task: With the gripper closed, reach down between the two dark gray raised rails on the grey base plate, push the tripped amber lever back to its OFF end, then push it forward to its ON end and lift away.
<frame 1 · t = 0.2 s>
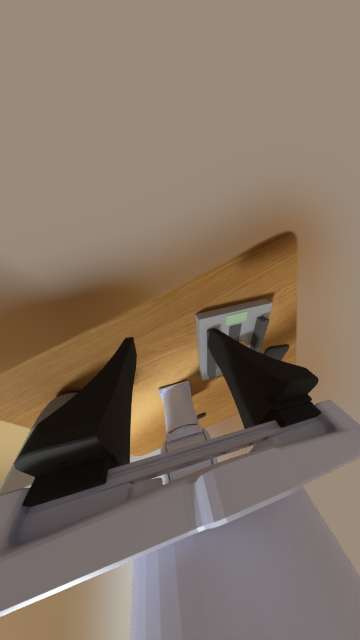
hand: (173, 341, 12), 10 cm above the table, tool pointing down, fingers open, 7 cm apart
grey base plate: (227, 341, 29), on the table
phone: (265, 363, 38), on the table
smart speaker: (77, 399, 28), on the table
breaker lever: (239, 356, 25), point 4 cm above the table, slide at 4.0 cm
composite cable: (191, 416, 46), on the table
dark gray raised rails: (234, 350, 26), on the grey base plate, point 2 cm above the table
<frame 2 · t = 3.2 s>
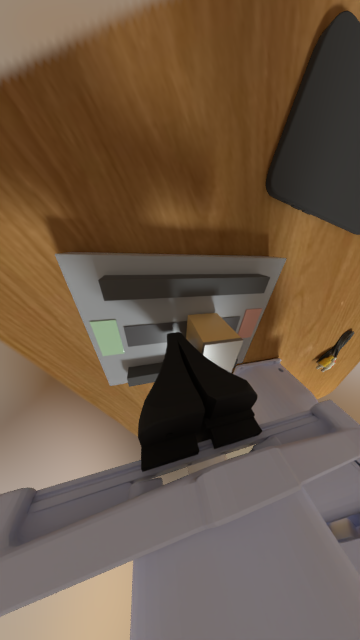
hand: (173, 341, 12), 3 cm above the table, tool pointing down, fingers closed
grey base plate: (182, 320, 15), on the table
phone: (342, 167, 11), on the table
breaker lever: (208, 343, 12), point 4 cm above the table, slide at 2.6 cm, touching gripper
composite cable: (329, 347, 28), on the table
dark gray raised rails: (188, 334, 13), on the grey base plate, point 2 cm above the table
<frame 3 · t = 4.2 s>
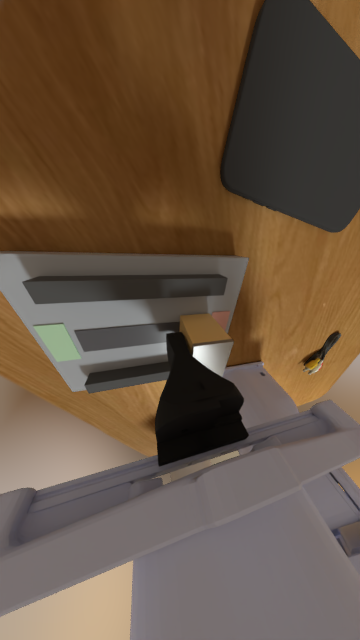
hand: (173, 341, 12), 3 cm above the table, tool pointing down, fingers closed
grey base plate: (148, 323, 14), on the table
phone: (308, 160, 10), on the table
smart speaker: (183, 431, 34), on the table
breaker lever: (200, 344, 12), point 4 cm above the table, slide at -0.6 cm, touching gripper
composite cable: (317, 350, 27), on the table
dark gray raised rails: (148, 339, 12), on the grey base plate, point 2 cm above the table
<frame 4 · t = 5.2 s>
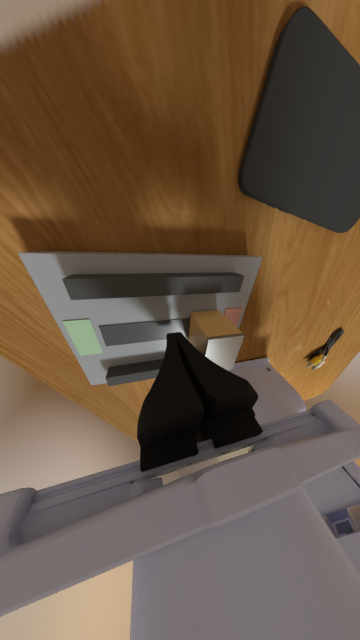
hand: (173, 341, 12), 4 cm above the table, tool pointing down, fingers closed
grey base plate: (163, 320, 15), on the table
phone: (318, 165, 11), on the table
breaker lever: (210, 339, 12), point 4 cm above the table, slide at -0.1 cm
composite cable: (320, 346, 28), on the table
dark gray raised rails: (166, 333, 13), on the grey base plate, point 2 cm above the table
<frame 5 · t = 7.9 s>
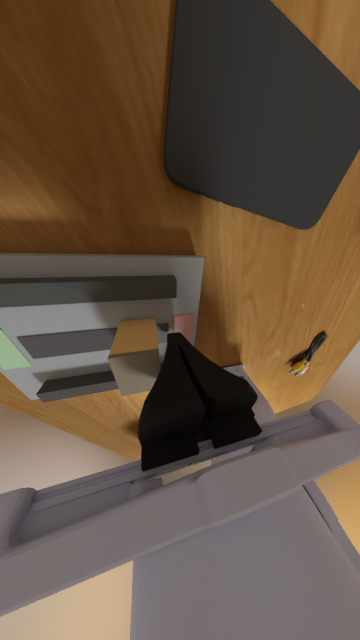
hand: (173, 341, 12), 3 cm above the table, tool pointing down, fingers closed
grey base plate: (109, 327, 14), on the table
phone: (265, 151, 10), on the table
smart speaker: (169, 435, 33), on the table
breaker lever: (140, 353, 11), point 4 cm above the table, slide at 0.7 cm, touching gripper
composite cable: (304, 351, 26), on the table
dark gray raised rails: (102, 344, 11), on the grey base plate, point 2 cm above the table
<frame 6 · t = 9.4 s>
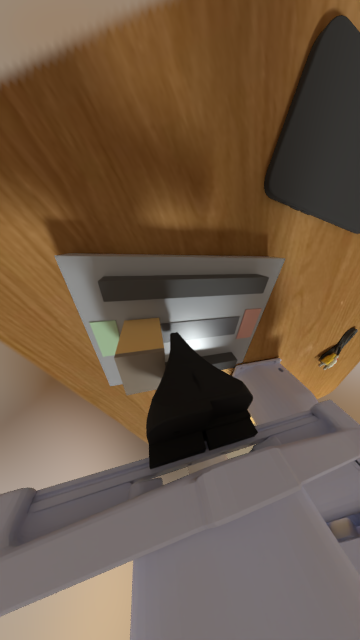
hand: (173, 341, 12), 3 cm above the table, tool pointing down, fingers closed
grey base plate: (181, 321, 15), on the table
phone: (341, 167, 11), on the table
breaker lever: (144, 352, 11), point 4 cm above the table, slide at 8.3 cm, touching gripper
composite cable: (332, 345, 28), on the table
dark gray raised rails: (188, 334, 13), on the grey base plate, point 2 cm above the table
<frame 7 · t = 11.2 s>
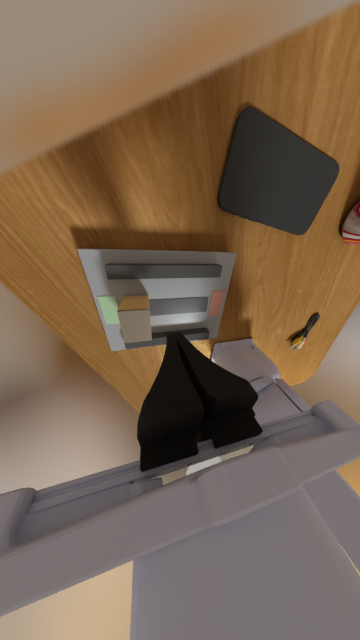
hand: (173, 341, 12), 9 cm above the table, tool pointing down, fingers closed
grey base plate: (166, 301, 20), on the table
phone: (274, 188, 16), on the table
smart speaker: (188, 405, 39), on the table
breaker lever: (137, 317, 15), point 4 cm above the table, slide at 8.1 cm
soda can: (355, 218, 20), on the table
composite cable: (301, 330, 33), on the table
dark gray raised rails: (168, 309, 18), on the grey base plate, point 2 cm above the table
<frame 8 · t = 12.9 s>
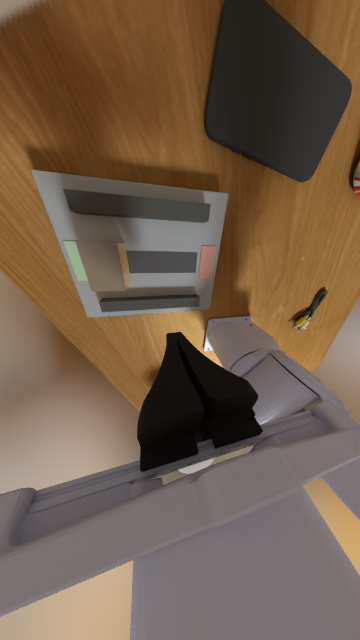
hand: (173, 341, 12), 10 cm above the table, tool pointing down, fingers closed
grey base plate: (149, 260, 17), on the table
phone: (273, 116, 13), on the table
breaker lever: (109, 265, 13), point 4 cm above the table, slide at 8.1 cm
composite cable: (306, 309, 30), on the table
dark gray raised rails: (150, 263, 15), on the grey base plate, point 2 cm above the table
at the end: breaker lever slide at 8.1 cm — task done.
